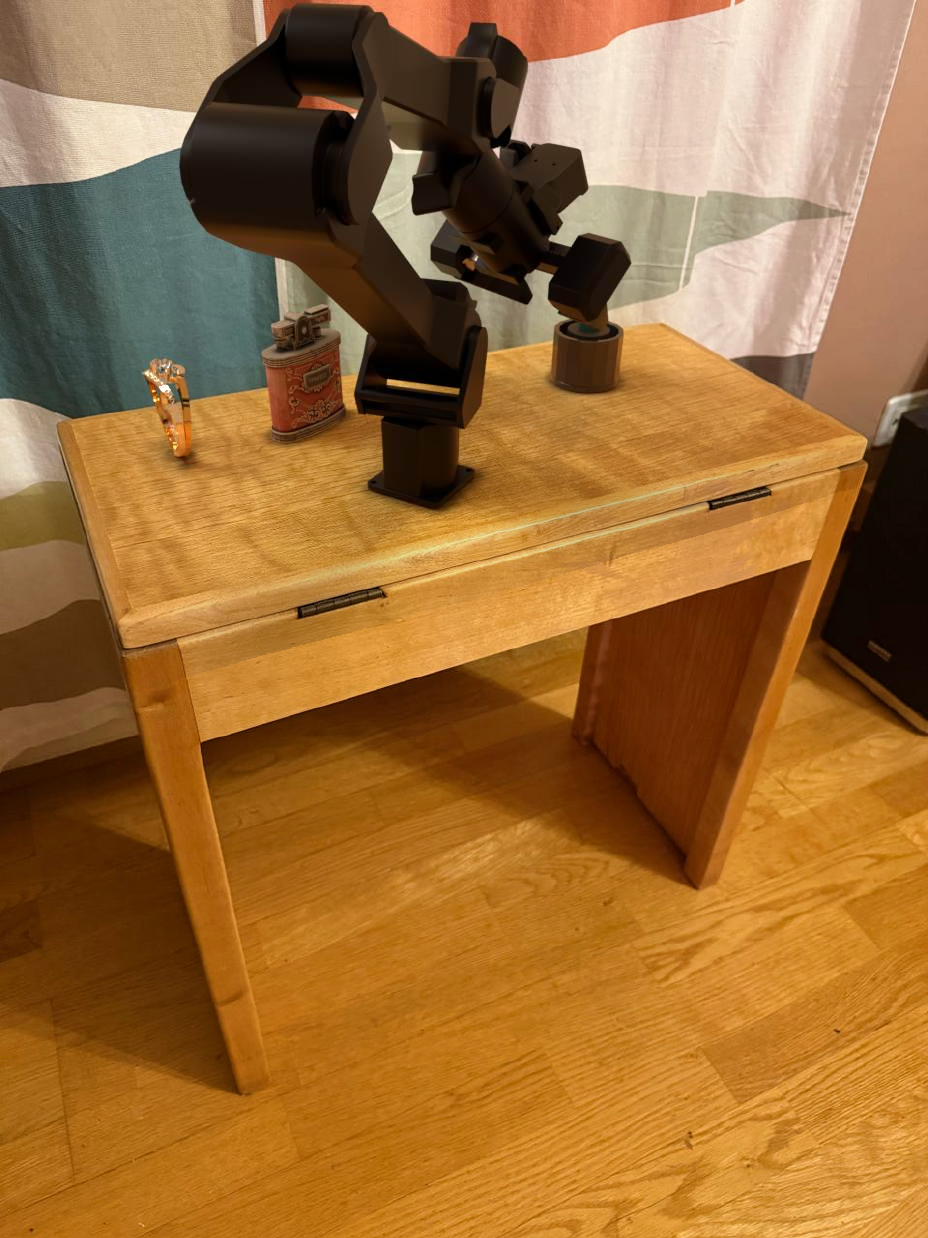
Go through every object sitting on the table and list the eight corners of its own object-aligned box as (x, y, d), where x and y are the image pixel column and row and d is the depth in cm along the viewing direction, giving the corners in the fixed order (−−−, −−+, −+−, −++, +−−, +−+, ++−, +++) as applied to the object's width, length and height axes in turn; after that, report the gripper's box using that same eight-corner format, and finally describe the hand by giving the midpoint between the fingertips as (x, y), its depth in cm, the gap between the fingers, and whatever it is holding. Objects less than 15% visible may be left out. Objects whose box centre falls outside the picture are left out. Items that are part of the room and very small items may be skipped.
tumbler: (602, 398, 86) (608, 346, 83) (539, 384, 89) (542, 333, 86) (627, 374, 91) (633, 325, 88) (566, 361, 94) (570, 313, 91)
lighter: (290, 446, 78) (277, 330, 72) (262, 435, 79) (247, 321, 73) (354, 415, 83) (347, 304, 77) (327, 405, 84) (318, 296, 78)
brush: (595, 384, 87) (609, 255, 80) (557, 376, 89) (567, 248, 82) (611, 371, 90) (625, 244, 83) (573, 363, 92) (584, 237, 85)
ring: (151, 441, 78) (131, 349, 73) (189, 433, 79) (172, 343, 74) (169, 476, 73) (149, 381, 68) (209, 468, 74) (192, 374, 70)
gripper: (631, 126, 65) (697, 259, 78) (455, 96, 76) (538, 216, 88) (548, 261, 65) (627, 371, 78) (384, 211, 76) (477, 315, 89)
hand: (565, 312), depth 83 cm, fingers open, 9 cm apart
